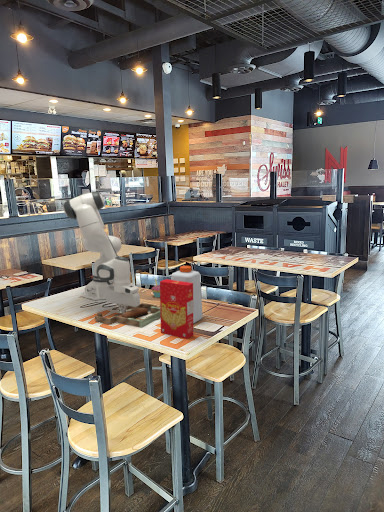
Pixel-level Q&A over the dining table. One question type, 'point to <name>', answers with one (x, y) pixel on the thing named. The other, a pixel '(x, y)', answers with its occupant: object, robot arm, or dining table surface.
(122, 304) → the robot arm
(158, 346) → the dining table surface
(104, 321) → the trap lane
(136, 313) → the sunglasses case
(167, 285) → the food packaging
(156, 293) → the cupcake
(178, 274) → the plastic bottle
